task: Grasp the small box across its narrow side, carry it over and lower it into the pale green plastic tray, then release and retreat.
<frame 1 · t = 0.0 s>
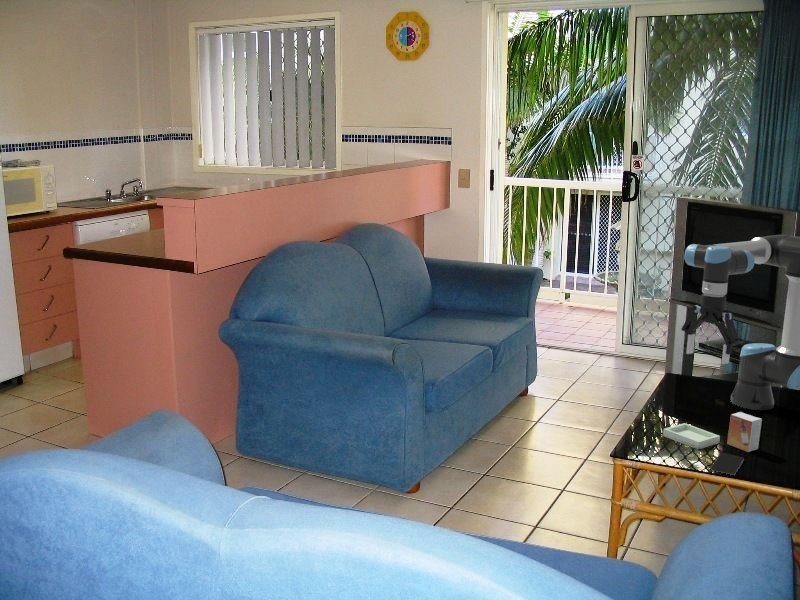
hand: (707, 358, 282), 28 cm above the table, fingers open, 13 cm apart
small box: (742, 447, 283), on the table
tray: (690, 439, 288), on the table
smartphone: (726, 467, 267), on the table
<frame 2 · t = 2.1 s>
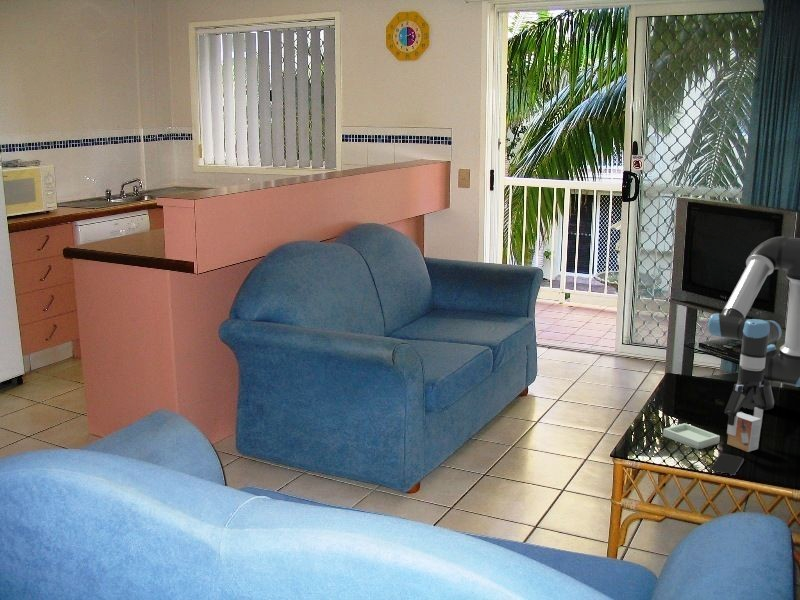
hand: (744, 431, 282), 6 cm above the table, fingers open, 13 cm apart
nothing on the table moved.
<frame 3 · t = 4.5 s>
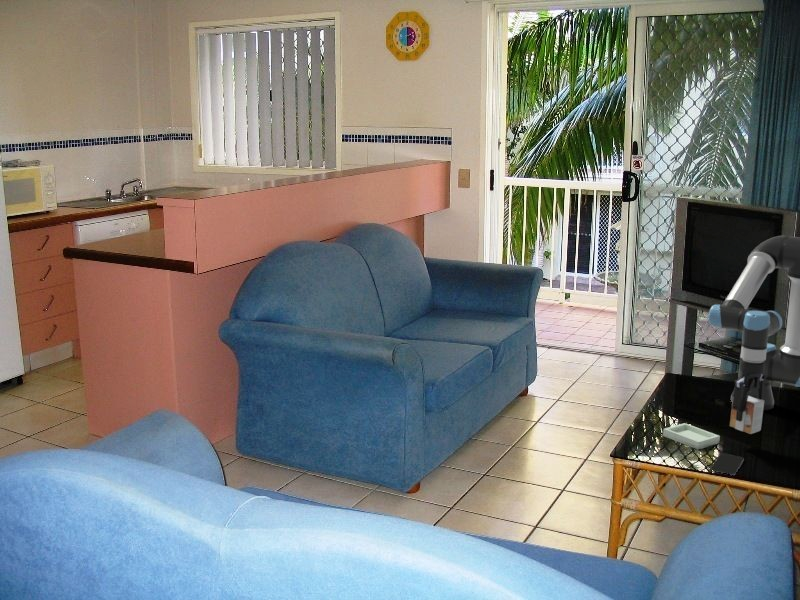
hand: (745, 427, 282), 6 cm above the table, fingers closed on small box, 6 cm apart
small box: (745, 429, 282), point 6 cm above the table, touching gripper
everything else where it was.
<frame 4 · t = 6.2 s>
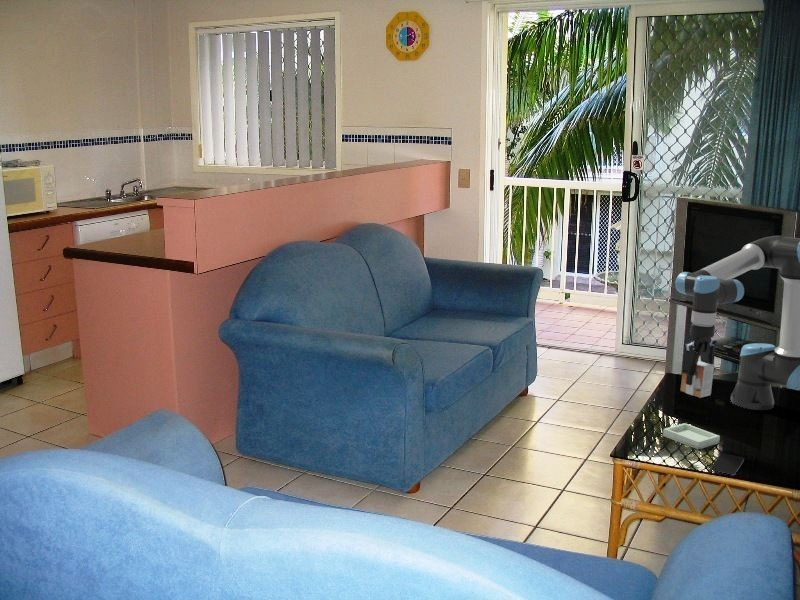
hand: (695, 392, 285), 16 cm above the table, fingers closed on small box, 6 cm apart
small box: (695, 393, 285), point 16 cm above the table, touching gripper
everything else where it was.
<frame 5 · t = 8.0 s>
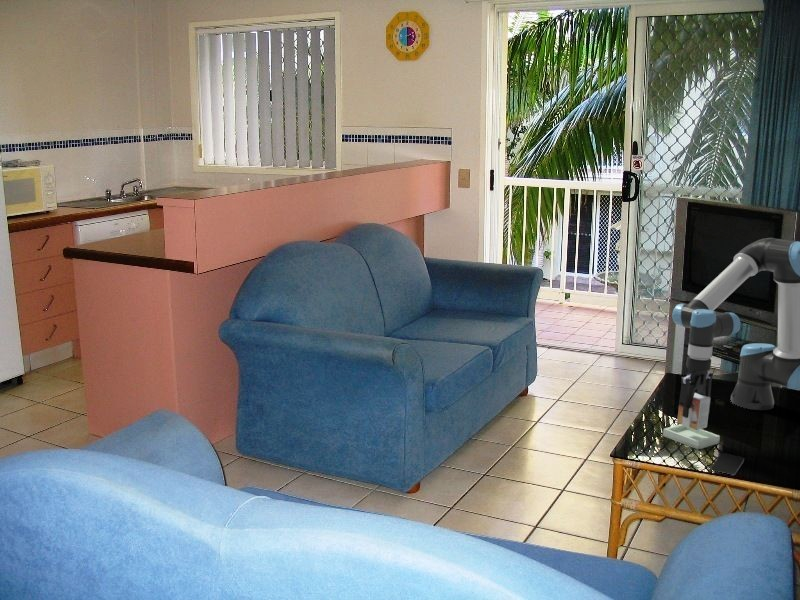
hand: (692, 424, 287), 5 cm above the table, fingers closed on small box, 6 cm apart
small box: (691, 426, 287), point 5 cm above the table, touching gripper
everything else where it was.
when the fingers open (3 cm above the table, at t = 9.3 s): small box drops 1 cm, resting on tray.
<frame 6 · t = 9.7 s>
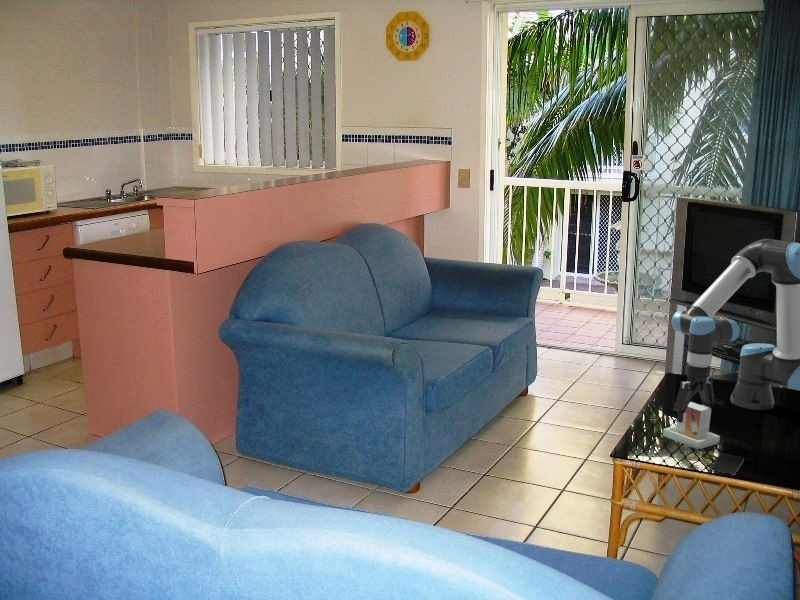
hand: (691, 427, 287), 4 cm above the table, fingers open, 11 cm apart
small box: (692, 436, 289), point 1 cm above the table, touching tray
everything else where it was.
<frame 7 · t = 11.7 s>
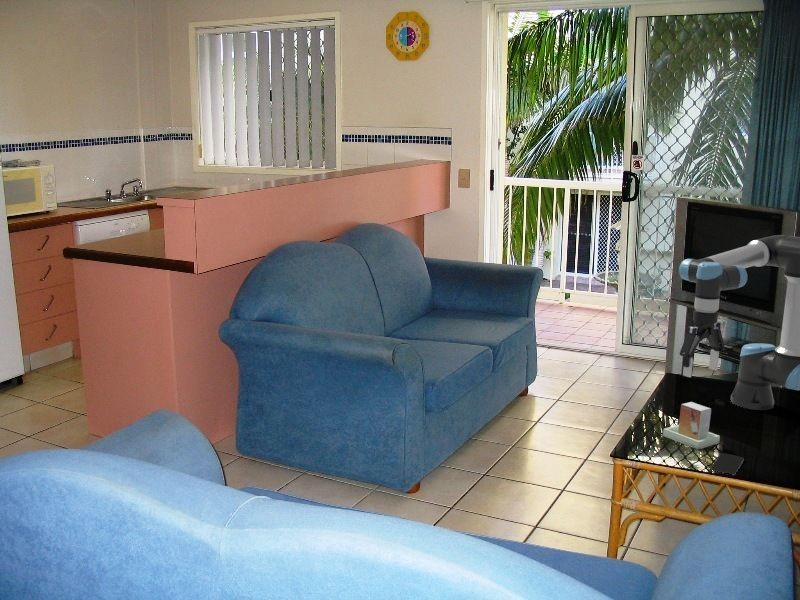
hand: (700, 372, 285), 22 cm above the table, fingers open, 13 cm apart
nothing on the table moved.
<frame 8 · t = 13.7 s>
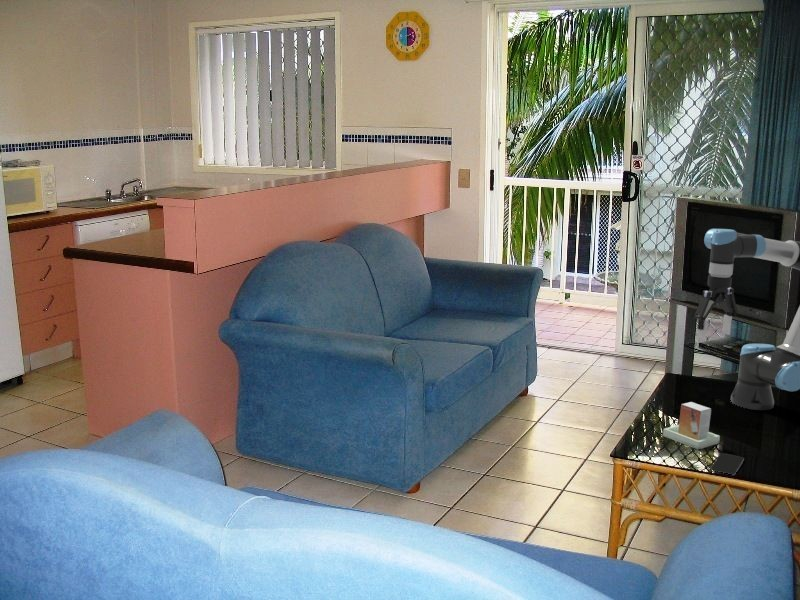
hand: (713, 336, 296), 32 cm above the table, fingers open, 13 cm apart
nothing on the table moved.
at the end: small box inside the target area on the tray (1.0 cm from its centre), point 0.8 cm above the tray's base; small box tilted 0°; the gripper is holding nothing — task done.
